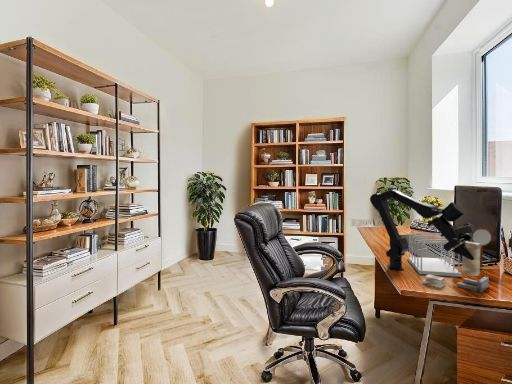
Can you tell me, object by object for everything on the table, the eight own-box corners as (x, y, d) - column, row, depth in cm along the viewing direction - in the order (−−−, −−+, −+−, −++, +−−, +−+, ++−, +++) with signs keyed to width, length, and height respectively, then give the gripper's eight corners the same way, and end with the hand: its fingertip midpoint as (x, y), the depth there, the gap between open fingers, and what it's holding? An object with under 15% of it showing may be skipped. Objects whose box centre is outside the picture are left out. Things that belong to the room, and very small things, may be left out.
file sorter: (461, 277, 136) (462, 243, 135) (419, 275, 140) (419, 242, 139) (442, 261, 160) (443, 232, 159) (407, 259, 164) (407, 231, 163)
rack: (456, 286, 125) (457, 277, 125) (464, 281, 131) (464, 272, 130) (481, 292, 118) (481, 282, 118) (488, 286, 124) (488, 277, 124)
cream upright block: (461, 273, 126) (463, 242, 125) (465, 271, 128) (466, 241, 127) (475, 276, 122) (477, 244, 121) (479, 274, 124) (480, 243, 123)
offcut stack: (422, 284, 129) (422, 276, 129) (427, 281, 132) (427, 273, 132) (440, 288, 124) (441, 280, 124) (445, 285, 127) (445, 277, 127)
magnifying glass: (471, 268, 147) (472, 228, 146) (469, 267, 149) (470, 227, 147) (491, 269, 145) (492, 228, 144) (489, 268, 146) (491, 228, 145)
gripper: (452, 219, 121) (485, 251, 113) (468, 214, 132) (499, 243, 124) (431, 235, 127) (460, 267, 119) (448, 230, 139) (476, 258, 131)
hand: (475, 258), depth 123 cm, fingers closed on cream upright block, 4 cm apart
